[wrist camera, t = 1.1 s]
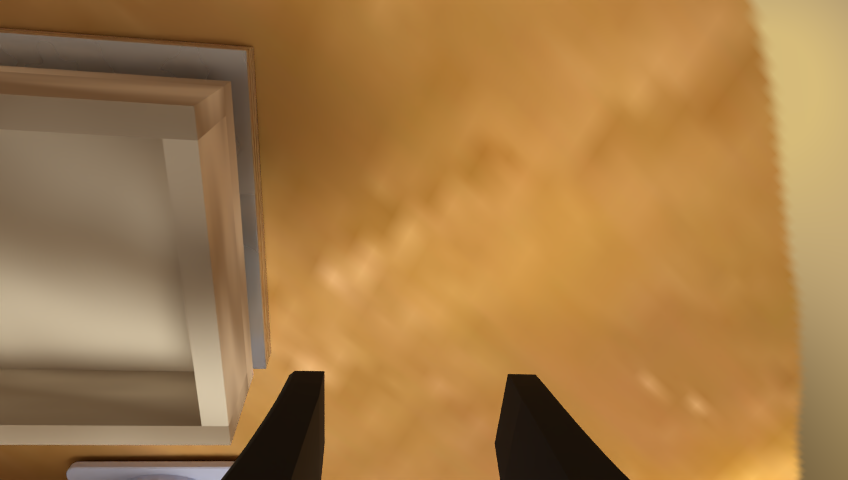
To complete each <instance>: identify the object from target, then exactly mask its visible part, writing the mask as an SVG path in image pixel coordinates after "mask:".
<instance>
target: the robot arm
mask: <svg viewBox="0 0 848 480" xmlns="http://www.w3.org/2000/svg"><path fill="white" fill-rule="evenodd" d="M324 443H325V437H324V371H294V372H293V373H292V374H290V375H289V377H288V379H287V381H286V383H285V385H284V387H283V389H282V391H281V393H280V394H279V396H278V398H277V400H276V401H275V403H274V405H273V406H272V408H271V409H270V411H269V413H268V414H267V416H266V417H265V419H264V421H263V422H262V424H261V425H260V426H259V428H258V429H257V431H256V432H255V434H254V435H253V437H252V438H251V440H250V441H249V443H248V444H247V446H246V447H245V448H244V450H243V451H242V453H241V454H240V455H239V457H238V458H237V459H236V461H105V462H75V463H73V464H72V465H71V466H70V468H69V469H68V471H67V472H66V475H67V479H68V480H321V475H322V465H323V454H324ZM495 448H496V455H497V462H498V469H499V475H500V480H630V479H629V478H628V477H627V476H626V475H625V474H623V473H622V472H621V471H620V470H619V469H618V468H617V467H616V465H615V464H614V463H613V462H612V461H611V460H610V459H609V458H608V457H607V456H606V455H605V454H604V453H603V452H602V451H601V449H600V448H599V447H598V446H597V445H596V444H595V443H594V442H593V441H592V440H591V439H590V437H589V436H588V435H587V434H586V433H585V432H584V431H583V430H582V429H581V427H580V426H579V425H578V424H577V423H576V422H575V420H574V419H573V418H572V417H571V416H570V415H569V413H568V412H567V411H566V410H565V409H564V408H563V406H562V405H561V404H560V403H559V402H558V401H557V399H556V398H555V397H554V396H553V395H552V393H551V392H550V391H549V390H548V389H547V387H546V386H545V385H544V384H543V383H542V382H541V380H540V379H539V378H538V377H537V376H536V375H527V374H508V377H507V382H506V387H505V392H504V398H503V403H502V408H501V414H500V419H499V424H498V429H497V435H496V440H495Z"/></svg>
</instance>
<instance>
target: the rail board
mask: <svg viewBox="0 0 848 480" xmlns="http://www.w3.org/2000/svg"><path fill="white" fill-rule="evenodd" d="M0 66H15V67H30V68H44V69H59V70H73V71H88V72H103V73H117V74H132V75H147V76H161V77H176V78H190V79H205V80H220V81H231V89H232V102H233V115H234V128H235V142H236V155H237V168H238V181H239V194H240V207H241V220H242V233H243V246H244V259H245V272H246V285H247V298H248V312H249V325H250V338H251V351H252V364H253V369H266V367H267V364H268V361H269V357H270V354H271V347H270V330H269V312H268V295H267V277H266V259H265V242H264V224H263V207H262V189H261V171H260V154H259V136H258V119H257V101H256V84H255V66H254V48H253V47H248V46H234V45H221V44H208V43H194V42H181V41H168V40H154V39H141V38H128V37H114V36H101V35H88V34H74V33H61V32H48V31H34V30H21V29H8V28H0Z"/></svg>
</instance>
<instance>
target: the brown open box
mask: <svg viewBox="0 0 848 480" xmlns="http://www.w3.org/2000/svg"><path fill="white" fill-rule="evenodd" d="M252 378H253V364H252V351H251V338H250V325H249V312H248V298H247V285H246V272H245V259H244V246H243V233H242V220H241V207H240V194H239V181H238V168H237V155H236V142H235V128H234V115H233V102H232V89H231V81H220V80H205V79H190V78H176V77H161V76H147V75H132V74H117V73H103V72H88V71H73V70H59V69H44V68H30V67H15V66H0V445H231V443H232V440H233V436H234V433H235V430H236V427H237V424H238V421H239V418H240V415H241V412H242V409H243V406H244V402H245V399H246V396H247V393H248V390H249V387H250V384H251V381H252Z"/></svg>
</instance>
